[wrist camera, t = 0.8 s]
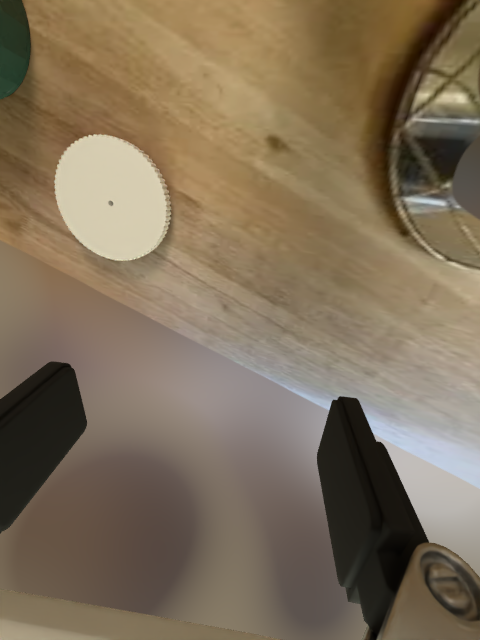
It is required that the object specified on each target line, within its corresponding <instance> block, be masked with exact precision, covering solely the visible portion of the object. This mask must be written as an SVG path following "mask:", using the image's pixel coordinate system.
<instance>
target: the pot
mask: <svg viewBox="0 0 480 640" xmlns="http://www.w3.org/2000/svg"><path fill="white" fill-rule="evenodd" d="M29 59H30V33H29V26H28V21H27V16H26V12H25V9H24V6H23V3H22V0H0V99H3V98H5V97H7V96H9V95H11V94H12V93H13V92H14V91H15V90H16V89H17V88H18V87H19V86H20V84H21V83H22V81H23V79H24V77H25V75H26V72H27V69H28V65H29Z"/></svg>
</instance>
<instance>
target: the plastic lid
mask: <svg viewBox="0 0 480 640" xmlns="http://www.w3.org/2000/svg"><path fill="white" fill-rule="evenodd" d="M148 157H149V156H148V155H146V154H144V152H143V151H142V150H139V148H138V147H136V146H135V145H133V144H131V143H129V142H127V141H125V140H122V139H120V138H117V137H113V136H108V135H102V134H99V135H96V134H94V135H93V136H92V135H88V137H86V136H85V137H83V139H82V138H80V139H79V141H75V144H71V147H68V148H67V151H64V155H62V156H61V158H62V159H61V160H59V165H57V167H58V170H56V173H57V174H56V175H55V178H56V180H54V183H55V184H56V186H54V188H55V189H56V191H55V194H56V196H57V197H56V200H57V201H58V202H57V205H59V211H61V216H63V220H64V221H65V222H66V225H67V226H68V227H69V230H71V231H72V234H73V235H75V236H76V237H75V238H76V239H79V242H80V243H83V245H84V246H86V247H87V249H91V250H92V252H96V254H97V255H99V254H100V256H101V257H103V256H104V257H105V258H109V259H111V260H112V259H114V260H119V261H122V260H123V261H126V260H128V261H129V260H134V259H137V258H140V257H142V256H144V255H146V254H148V253H150V252H151V251H153V250H154V249H155V248H156V247H157V246H158V245H159V244H160V242H162V240H163V239H162V238H164V237H165V234H166V233H167V231H166V230H167V229H168V228H169V227H168V225H169V224H170V222H169V220H170V219H171V217H170V215H171V212H170V209H171V207H170V204H171V201H169V199H170V196H169V195H168V193H169V191H168V190H167V185H165V183H164V182H165V180H164V179H163V178H162V176H163V175H162V174H160V173H159V171H160V170H159V169H158V168H156V164H154V163H152V159H149V158H148Z"/></svg>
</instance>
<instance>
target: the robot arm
mask: <svg viewBox="0 0 480 640" xmlns="http://www.w3.org/2000/svg"><path fill="white" fill-rule="evenodd" d="M86 426H87V420H86V416H85V411H84V407H83V403H82V399H81V395H80V391H79V387H78V382H77V378H76V374H75V371H74V369H73V368H71V366H70V364H68V363H61V362H49V363H47V364H46V365H45V366H44V367H42V368H41V369H39V370H38V371H37V372H36V373H35V374H33V375H32V376H30V377H29V378H28V379H26V380H25V381H24V382H23V383H21V384H20V385H19V386H17V387H16V388H15V389H13V390H12V391H11V392H10V393H8V394H7V395H6V396H4V397H3V398H2V399H0V533H1V532H2V531H4V530H6V529H8V528H9V527H10V526H11V524H12V523H13V522H14V520H16V518H17V517H18V516H19V514H20V513H21V512H22V510H23V509H24V508H25V507H26V505H27V504H28V503H29V502H30V500H31V499H32V498H33V496H34V495H35V494H36V493H37V491H38V490H39V489H40V488H41V486H42V485H43V484H44V482H45V481H46V480H47V479H48V477H49V476H50V475H51V473H52V472H53V471H54V470H55V468H56V467H57V466H58V464H59V463H60V462H61V461H62V459H63V458H64V457H65V455H66V454H67V453H68V452H69V450H70V449H71V448H72V446H73V445H74V444H75V442H76V441H77V440H78V439H79V437H80V436H81V435H82V434H83V432H84V431H85V429H86ZM317 464H318V470H319V476H320V482H321V487H322V493H323V498H324V504H325V510H326V515H327V521H328V527H329V532H330V538H331V544H332V549H333V555H334V560H335V566H336V572H337V577H338V581H339V584H340V586H342V587H345V588H346V592H347V598H348V602H352V603H358V604H361V608H362V613H363V617H364V621H365V622H366V623H367V624H368V626H367V628H366V630H365V633H364V635H363V638H362V640H480V577H479V576H478V575H477V574H476V573H475V572H474V571H473V569H472V568H471V567H470V566H469V565H468V564H467V563H466V562H465V561H464V560H463V559H462V558H461V557H459V556H458V555H457V554H456V553H454V552H452V551H451V550H449V549H447V548H446V547H444V546H441V545H438V544H435V543H429V541H428V539H427V537H426V534H425V532H424V530H423V528H422V526H421V523H420V522H419V519H418V517H417V515H416V513H415V510H414V508H413V506H412V504H411V502H410V499H409V497H408V495H407V493H406V491H405V489H404V486H403V484H402V482H401V480H400V478H399V475H398V473H397V471H396V469H395V467H394V465H393V462H392V460H391V458H390V456H389V454H388V452H387V449H386V448H385V446H384V445H383V444H382V443H381V442H376V440H375V437H374V435H373V433H372V430H371V428H370V426H369V423H368V421H367V419H366V417H365V414H364V412H363V410H362V407H361V405H360V403H359V401H358V399H357V398H350V397H341V396H340V397H339V398H338V400H333V401H332V404H331V407H330V411H329V414H328V418H327V421H326V425H325V428H324V432H323V435H322V439H321V442H320V446H319V449H318V453H317ZM0 640H281V639H276V638H271V637H266V636H261V635H256V634H251V633H245V632H240V631H234V630H229V629H223V628H218V627H212V626H207V625H202V624H196V623H191V622H185V621H180V620H174V619H168V618H163V617H158V616H152V615H147V614H141V613H135V612H130V611H124V610H118V609H113V608H107V607H101V606H95V605H89V604H84V603H79V602H73V601H67V600H61V599H56V598H50V597H45V596H39V595H33V594H27V593H21V592H16V591H10V590H4V589H0Z"/></svg>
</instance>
